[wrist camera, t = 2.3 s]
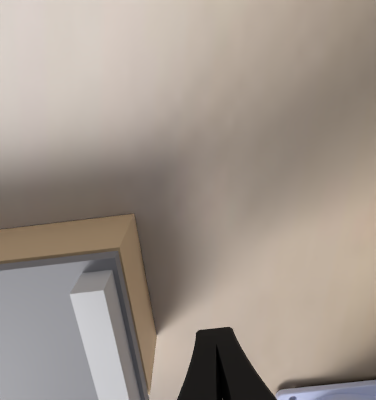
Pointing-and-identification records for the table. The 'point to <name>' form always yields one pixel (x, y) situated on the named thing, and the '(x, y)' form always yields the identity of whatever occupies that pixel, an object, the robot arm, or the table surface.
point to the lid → (68, 331)
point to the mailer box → (87, 244)
